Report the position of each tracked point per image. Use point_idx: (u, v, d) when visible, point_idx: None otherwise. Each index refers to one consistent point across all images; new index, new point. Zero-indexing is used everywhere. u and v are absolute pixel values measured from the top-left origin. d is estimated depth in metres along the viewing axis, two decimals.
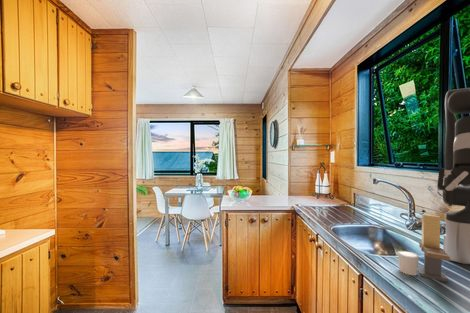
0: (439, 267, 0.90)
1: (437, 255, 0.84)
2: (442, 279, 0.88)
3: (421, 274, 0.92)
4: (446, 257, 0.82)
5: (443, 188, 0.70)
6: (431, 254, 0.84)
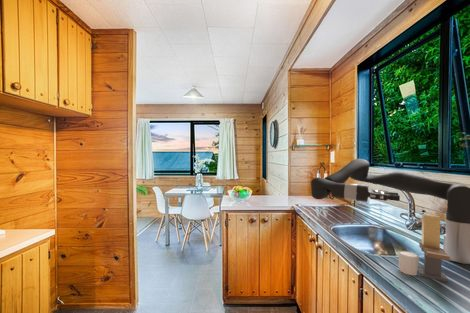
0: (439, 267, 0.90)
1: (437, 255, 0.84)
2: (442, 279, 0.88)
3: (421, 274, 0.92)
4: (446, 257, 0.82)
5: None
6: (431, 254, 0.84)
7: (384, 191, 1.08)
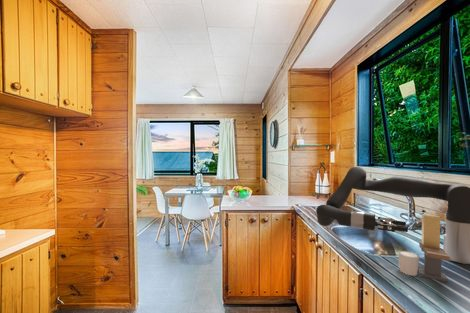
0: (439, 267, 0.90)
1: (437, 255, 0.84)
2: (442, 279, 0.88)
3: (421, 274, 0.92)
4: (446, 257, 0.82)
5: None
6: (431, 254, 0.84)
7: (391, 220, 1.07)
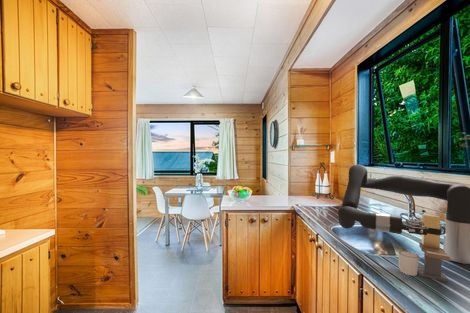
0: (439, 267, 0.90)
1: (437, 255, 0.84)
2: (442, 279, 0.88)
3: (421, 274, 0.92)
4: (446, 257, 0.82)
5: None
6: (431, 254, 0.84)
7: (421, 223, 1.01)
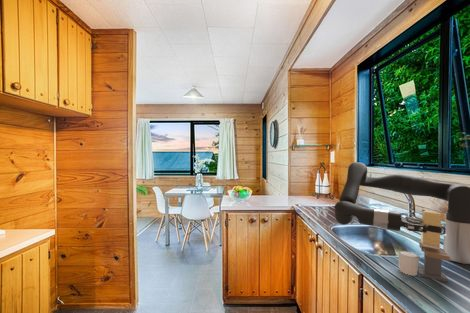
0: (439, 267, 0.90)
1: (437, 255, 0.84)
2: (442, 279, 0.88)
3: (421, 274, 0.92)
4: (446, 257, 0.82)
5: None
6: (431, 254, 0.84)
7: (421, 220, 0.96)
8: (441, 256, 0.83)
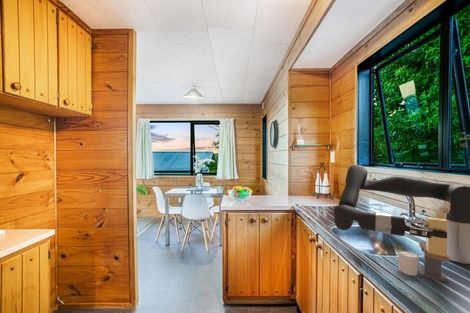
0: (439, 267, 0.90)
1: (437, 256, 0.83)
2: (442, 279, 0.88)
3: (421, 274, 0.92)
4: (446, 258, 0.82)
5: None
6: (431, 255, 0.84)
7: (423, 223, 0.91)
8: (441, 257, 0.83)
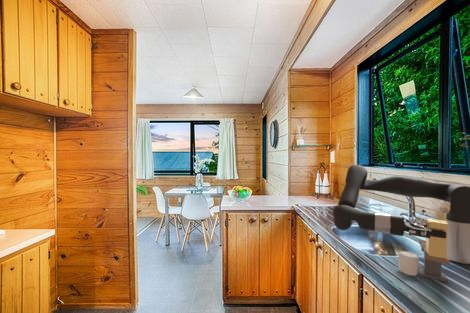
0: (439, 267, 0.90)
1: (437, 258, 0.83)
2: (442, 279, 0.88)
3: (421, 274, 0.92)
4: (446, 260, 0.82)
5: None
6: (431, 257, 0.84)
7: (423, 223, 0.91)
8: (441, 259, 0.83)
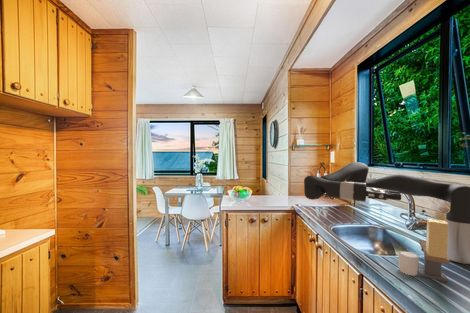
0: (439, 267, 0.90)
1: (437, 258, 0.83)
2: (442, 279, 0.88)
3: (421, 274, 0.92)
4: (446, 260, 0.82)
5: None
6: (431, 257, 0.84)
7: (384, 190, 0.98)
8: (441, 259, 0.83)
